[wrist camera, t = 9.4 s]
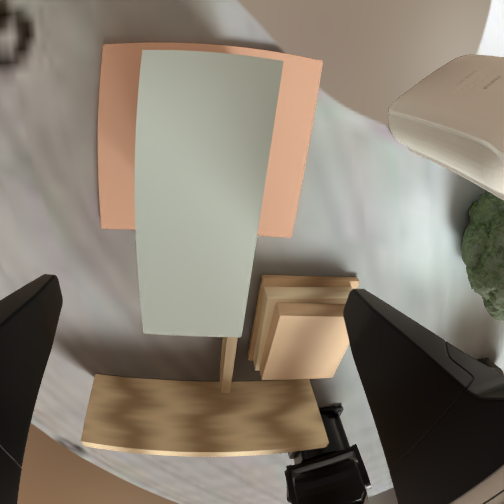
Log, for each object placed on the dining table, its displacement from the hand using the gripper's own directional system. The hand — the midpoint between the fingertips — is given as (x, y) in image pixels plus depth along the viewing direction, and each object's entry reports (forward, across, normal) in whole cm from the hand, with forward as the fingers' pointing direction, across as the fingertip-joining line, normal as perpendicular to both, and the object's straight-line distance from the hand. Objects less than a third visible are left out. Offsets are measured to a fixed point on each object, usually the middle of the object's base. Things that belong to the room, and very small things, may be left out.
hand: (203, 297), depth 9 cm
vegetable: (+13, -27, +1) cm, 30 cm away
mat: (+12, 0, -2) cm, 13 cm away
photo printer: (+13, -16, -8) cm, 22 cm away
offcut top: (+11, -9, +12) cm, 18 cm away
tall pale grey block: (+12, 0, -2) cm, 12 cm away
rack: (+13, -1, +14) cm, 19 cm away
